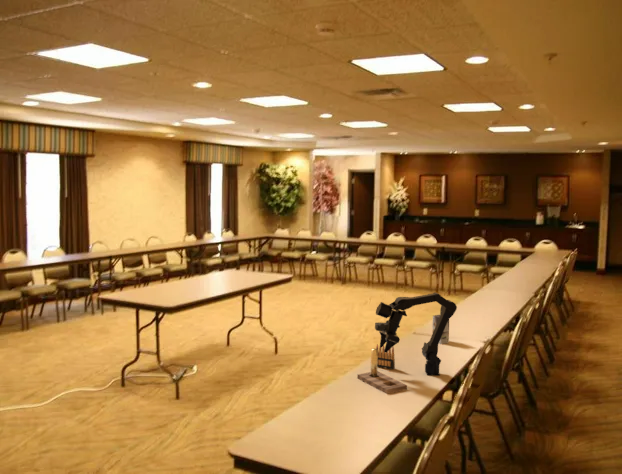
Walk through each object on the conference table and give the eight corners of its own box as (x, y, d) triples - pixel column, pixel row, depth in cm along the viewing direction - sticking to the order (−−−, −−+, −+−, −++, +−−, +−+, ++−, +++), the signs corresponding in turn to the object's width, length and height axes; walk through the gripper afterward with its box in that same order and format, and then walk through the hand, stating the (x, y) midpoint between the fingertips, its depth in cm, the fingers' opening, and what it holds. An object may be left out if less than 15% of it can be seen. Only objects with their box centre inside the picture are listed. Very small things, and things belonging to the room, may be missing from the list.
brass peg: (377, 378, 280) (377, 348, 279) (377, 381, 277) (377, 350, 276) (370, 378, 280) (371, 348, 279) (370, 380, 277) (371, 350, 276)
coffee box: (449, 343, 347) (450, 317, 346) (440, 344, 344) (441, 318, 343) (439, 339, 355) (440, 314, 354) (431, 340, 353) (432, 315, 351)
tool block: (357, 378, 281) (357, 374, 281) (376, 374, 287) (376, 370, 286) (386, 393, 260) (386, 389, 260) (406, 389, 266) (407, 385, 266)
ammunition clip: (374, 366, 300) (375, 344, 299) (375, 365, 302) (376, 343, 301) (393, 369, 295) (394, 347, 294) (394, 368, 297) (395, 346, 296)
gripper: (375, 311, 292) (364, 339, 293) (384, 320, 274) (372, 349, 274) (394, 319, 294) (383, 346, 294) (404, 327, 275) (393, 357, 276)
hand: (382, 349), depth 285 cm, fingers open, 9 cm apart
